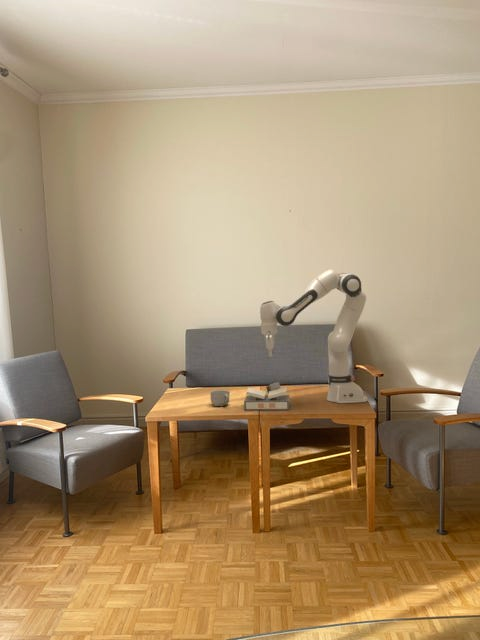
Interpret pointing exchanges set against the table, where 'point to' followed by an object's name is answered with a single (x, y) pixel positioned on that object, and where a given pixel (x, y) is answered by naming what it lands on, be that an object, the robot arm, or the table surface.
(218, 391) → the teacup
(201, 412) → the table surface
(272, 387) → the electrical switch
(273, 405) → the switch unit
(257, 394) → the block
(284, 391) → the rocker
